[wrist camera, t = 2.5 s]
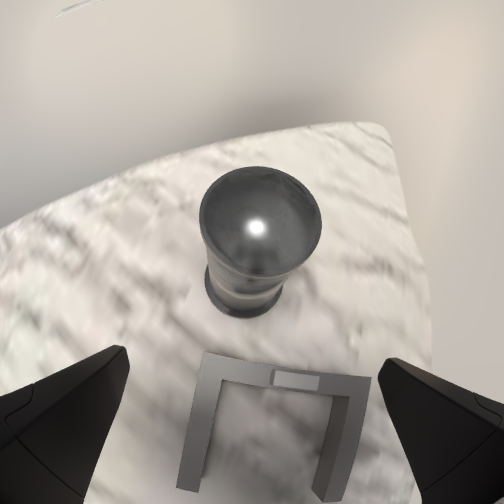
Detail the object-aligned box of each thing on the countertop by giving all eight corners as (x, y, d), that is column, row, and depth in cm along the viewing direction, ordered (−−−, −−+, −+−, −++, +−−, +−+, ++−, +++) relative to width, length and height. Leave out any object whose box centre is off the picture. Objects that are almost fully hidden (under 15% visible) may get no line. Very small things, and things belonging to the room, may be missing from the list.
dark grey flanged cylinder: (294, 299, 23) (349, 247, 13) (224, 331, 22) (227, 303, 11) (260, 235, 25) (286, 151, 15) (193, 262, 23) (176, 185, 13)
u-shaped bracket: (328, 488, 17) (348, 507, 13) (181, 473, 16) (173, 495, 12) (354, 376, 21) (380, 377, 17) (206, 352, 21) (202, 350, 17)
